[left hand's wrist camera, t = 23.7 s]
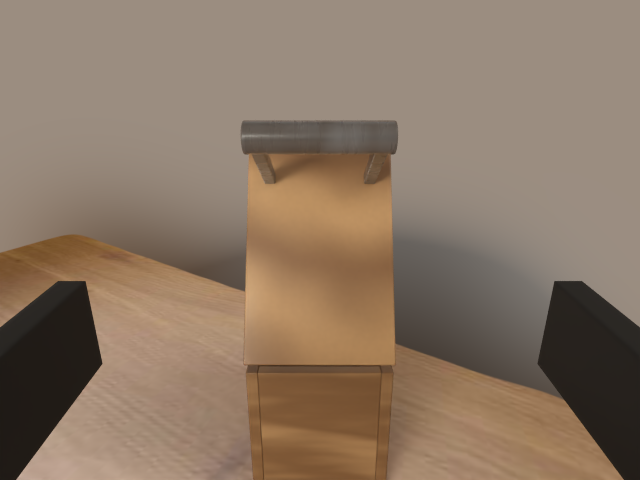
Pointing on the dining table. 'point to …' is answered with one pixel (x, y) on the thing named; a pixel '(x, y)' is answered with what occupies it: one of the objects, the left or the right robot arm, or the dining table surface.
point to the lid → (319, 243)
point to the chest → (319, 421)
